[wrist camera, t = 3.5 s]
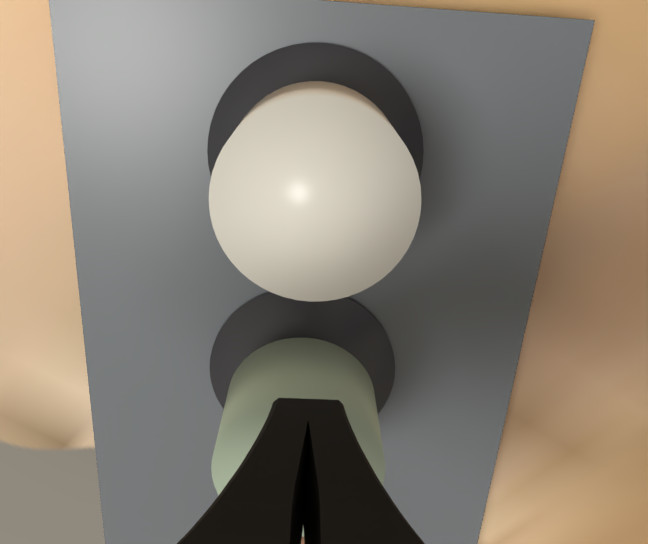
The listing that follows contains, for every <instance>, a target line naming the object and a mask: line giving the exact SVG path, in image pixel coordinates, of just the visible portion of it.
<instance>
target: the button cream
mask: <svg viewBox="0 0 648 544" xmlns="http://www.w3.org/2000/svg"><path fill="white" fill-rule="evenodd" d="M209 211H210V217H211V222H212V226H213V229H214V232H215V235H216V237H217V240H218V242H219V244H220V245H221V247H222V249H223V251H224V252H225V254H226V255H227V257H228V258H229V260H230V261H231V262H232V263H233V264H234V266H235V267H236V268H237V269H238V270H239V271H240V272H241V273H242V274H243V275H245V276H246V277H247V278H248V279H249V280H251V281H252V282H254V283H255V284H257V285H258V286H260V287H261V288H263V289H265V290H267V291H269V292H271V293H274V294H277V295H279V296H282V297H286V298H290V299H294V300H300V301H309V302H317V301H330V300H337V299H341V298H345V297H349V296H351V295H354V294H357V293H359V292H361V291H363V290H365V289H367V288H369V287H371V286H372V285H374V284H375V283H377V282H378V281H380V280H381V279H383V278H384V277H385V276H386V275H387V274H388V273H389V272H390V271H392V270H393V268H394V267H395V266H396V265H397V264H398V263H399V262H400V260H401V259H402V257H403V256H404V254H405V253H406V252H407V250H408V248H409V246H410V244H411V242H412V240H413V238H414V235H415V233H416V230H417V227H418V223H419V218H420V213H421V185H420V181H419V176H418V171H417V169H416V166H415V163H414V160H413V158H412V156H411V154H410V152H409V150H408V148H407V147H406V145H405V144H404V142H403V141H402V139H401V138H400V136H399V135H398V134H397V132H396V131H395V129H394V128H393V126H392V125H391V124H390V122H389V121H388V119H387V118H386V116H385V115H384V114H383V112H382V111H381V110H380V109H379V108H378V107H377V106H376V105H375V104H374V103H373V102H371V101H370V100H369V99H368V98H366V97H365V96H363V95H362V94H360V93H358V92H357V91H355V90H353V89H350V88H348V87H346V86H343V85H339V84H336V83H331V82H324V81H307V82H299V83H295V84H291V85H288V86H285V87H282V88H280V89H278V90H275V91H274V92H272V93H270V94H269V95H267V96H265V97H264V98H263V99H262V100H260V101H259V102H258V103H257V104H255V105H254V107H253V108H252V109H251V110H250V111H249V112H248V113H247V114H246V116H245V117H244V118H243V120H242V121H241V123H240V124H239V125H238V127H237V128H236V129H235V131H234V132H233V134H232V135H231V136H230V138H229V139H228V141H227V142H226V143H225V145H224V146H223V148H222V150H221V152H220V154H219V156H218V158H217V160H216V163H215V166H214V168H213V171H212V175H211V180H210V185H209Z"/></svg>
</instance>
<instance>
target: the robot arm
mask: <svg viewBox="0 0 648 544" xmlns="http://www.w3.org/2000/svg"><path fill="white" fill-rule="evenodd" d="M303 527H304V543H305V544H425V543H424V542H423V541H422V540H421V538H420V537H419V536H418V535H417V533H416V532H415V531H414V530H413V528H412V527H411V526H410V524H409V523H408V522H407V520H406V519H405V518H404V516H403V515H402V514H401V512H400V511H399V509H398V508H397V507H396V505H395V504H394V502H393V501H392V499H391V498H390V496H389V495H388V493H387V492H386V490H385V489H384V487H383V485H382V484H381V482H380V481H379V479H378V477H377V476H376V474H375V472H374V470H373V469H372V467H371V465H370V463H369V461H368V460H367V458H366V456H365V454H364V452H363V451H362V449H361V447H360V445H359V443H358V441H357V438H356V436H355V434H354V432H353V430H352V427H351V425H350V423H349V420H348V418H347V415H346V412H345V409H344V405H343V404H342V403H341V402H340V401H339V400H329V399H301V398H278V399H277V400H275V401H274V402H273V404H272V407H271V410H270V412H269V415H268V417H267V419H266V421H265V423H264V426H263V427H262V429H261V431H260V433H259V435H258V437H257V439H256V440H255V442H254V444H253V445H252V447H251V449H250V450H249V452H248V454H247V455H246V457H245V459H244V460H243V462H242V463H241V465H240V466H239V468H238V469H237V471H236V472H235V474H234V475H233V476H232V478H231V479H230V481H229V482H228V483H227V485H226V486H225V488H224V489H223V490H222V492H221V493H220V494H219V496H218V497H217V498H216V500H215V501H214V502H213V503H212V505H211V506H210V507H209V508H208V510H207V511H206V512H205V513H204V514H203V516H202V517H201V518H200V519H199V520H198V521H197V522H196V524H195V525H194V526H193V527H192V528H191V529H190V530H189V532H188V533H187V534H186V535H185V536H184V537H183V538H182V539H181V540H180V541H179V542H178V543H177V544H301V540H302V532H303Z"/></svg>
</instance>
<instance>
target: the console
mask: <svg viewBox="0 0 648 544" xmlns="http://www.w3.org/2000/svg"><path fill="white" fill-rule="evenodd" d="M49 6H50V16H51V26H52V35H53V45H54V55H55V64H56V74H57V84H58V93H59V103H60V112H61V122H62V132H63V141H64V151H65V161H66V170H67V180H68V190H69V199H70V209H71V218H72V228H73V238H74V247H75V257H76V267H77V276H78V286H79V296H80V305H81V315H82V325H83V334H84V344H85V353H86V363H87V373H88V382H89V392H90V402H91V411H92V421H93V431H94V440H95V450H96V459H97V468H98V478H99V488H100V498H101V508H102V517H103V526H104V536H105V544H177V543H178V542H179V541H180V540H181V539H182V538H183V537H184V536H185V535H186V534H187V533H188V532H189V530H190V529H191V528H192V527H193V526H194V525H195V524H196V522H197V521H198V520H199V519H200V518H201V517H202V516H203V514H204V513H205V512H206V511H207V510H208V508H209V507H210V506H211V505H212V503H213V502H214V501H215V500H216V498H217V497H218V496H219V495H218V493H217V491H216V489H215V486H214V483H213V479H212V472H211V464H212V456H213V452H214V448H215V444H216V440H217V435H218V431H219V427H220V423H221V419H222V414H223V410H224V406H225V402H226V398H227V393H228V389H229V385H230V382H231V379H232V377H233V374H234V373H235V371H236V369H237V368H238V366H239V365H240V364H241V363H242V362H243V360H245V359H246V358H247V357H248V356H249V355H250V354H251V353H253V352H254V351H256V350H257V349H259V348H261V347H263V346H265V345H267V344H269V343H272V342H275V341H278V340H282V339H288V338H314V339H319V340H323V341H327V342H330V343H332V344H335V345H337V346H339V347H341V348H343V349H344V350H346V351H347V352H349V353H350V354H352V355H353V356H354V357H355V358H356V359H357V360H358V361H359V362H360V363H361V364H362V365H363V366H364V368H365V370H366V371H367V373H368V374H369V377H370V379H371V381H372V384H373V388H374V393H375V400H376V406H377V413H378V419H379V426H380V432H381V439H382V445H383V452H384V458H385V478H384V483H383V487H384V489H385V490H386V492H387V493H388V495H389V496H390V498H391V499H392V501H393V502H394V504H395V505H396V507H397V508H398V509H399V511H400V512H401V514H402V515H403V516H404V518H405V519H406V520H407V522H408V523H409V524H410V526H411V527H412V528H413V530H414V531H415V532H416V533H417V535H418V536H419V537H420V538H421V540H422V541H423V542H424V543H425V544H477V542H478V538H479V533H480V529H481V525H482V520H483V516H484V511H485V507H486V502H487V498H488V493H489V489H490V484H491V480H492V476H493V471H494V467H495V462H496V458H497V453H498V449H499V444H500V440H501V435H502V431H503V427H504V422H505V418H506V413H507V409H508V404H509V400H510V395H511V391H512V386H513V382H514V378H515V373H516V369H517V364H518V360H519V355H520V351H521V346H522V342H523V337H524V333H525V329H526V324H527V320H528V315H529V311H530V306H531V302H532V297H533V293H534V288H535V284H536V280H537V275H538V271H539V266H540V262H541V257H542V253H543V248H544V244H545V239H546V235H547V231H548V226H549V222H550V217H551V213H552V208H553V204H554V199H555V195H556V190H557V186H558V182H559V177H560V173H561V168H562V164H563V159H564V155H565V150H566V146H567V141H568V137H569V133H570V128H571V124H572V119H573V115H574V110H575V106H576V101H577V97H578V92H579V88H580V84H581V79H582V75H583V70H584V66H585V61H586V57H587V52H588V48H589V43H590V39H591V34H592V30H593V26H594V21H595V20H583V19H570V18H556V17H542V16H529V15H515V14H501V13H488V12H474V11H460V10H447V9H433V8H419V7H405V6H392V5H378V4H364V3H351V2H337V1H323V0H49ZM307 81H324V82H331V83H336V84H339V85H343V86H346V87H348V88H350V89H353V90H355V91H357V92H358V93H360V94H362V95H363V96H365V97H366V98H368V99H369V100H370V101H371V102H373V103H374V104H375V105H376V106H377V107H378V108H379V109H380V110H381V111H382V112H383V114H384V115H385V116H386V118H387V119H388V121H389V122H390V124H391V125H392V126H393V128H394V129H395V131H396V132H397V134H398V135H399V136H400V138H401V139H402V141H403V142H404V144H405V145H406V147H407V148H408V150H409V152H410V154H411V156H412V158H413V160H414V163H415V166H416V169H417V171H418V176H419V181H420V185H421V213H420V218H419V223H418V227H417V230H416V233H415V235H414V238H413V240H412V242H411V244H410V246H409V248H408V250H407V252H406V253H405V254H404V256H403V257H402V259H401V260H400V262H399V263H398V264H397V265H396V266H395V267H394V268H393V270H392V271H390V272H389V273H388V274H387V275H386V276H385V277H384V278H383V279H381V280H380V281H378V282H377V283H375V284H374V285H372V286H371V287H369V288H367V289H365V290H363V291H361V292H359V293H357V294H354V295H351V296H349V297H345V298H341V299H337V300H330V301H317V302H309V301H300V300H294V299H290V298H286V297H282V296H279V295H277V294H274V293H271V292H269V291H267V290H265V289H263V288H261V287H260V286H258V285H257V284H255V283H254V282H252V281H251V280H249V279H248V278H247V277H246V276H245V275H243V274H242V273H241V272H240V271H239V270H238V269H237V268H236V267H235V266H234V264H233V263H232V262H231V261H230V260H229V258H228V257H227V255H226V254H225V252H224V251H223V249H222V247H221V245H220V244H219V242H218V240H217V237H216V235H215V232H214V229H213V226H212V222H211V217H210V211H209V185H210V180H211V175H212V171H213V168H214V166H215V163H216V160H217V158H218V156H219V154H220V152H221V150H222V148H223V146H224V145H225V143H226V142H227V141H228V139H229V138H230V136H231V135H232V134H233V132H234V131H235V129H236V128H237V127H238V125H239V124H240V123H241V121H242V120H243V118H244V117H245V116H246V114H247V113H248V112H249V111H250V110H251V109H252V108H253V107H254V105H255V104H257V103H258V102H259V101H260V100H262V99H263V98H264V97H265V96H267V95H269V94H270V93H272V92H274V91H275V90H278V89H280V88H282V87H285V86H288V85H291V84H295V83H299V82H307Z"/></svg>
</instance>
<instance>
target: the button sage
mask: <svg viewBox="0 0 648 544" xmlns="http://www.w3.org/2000/svg"><path fill="white" fill-rule="evenodd" d="M278 398H301V399H329V400H339V401H340V402H341V403H342V404H343V405H344V409H345V412H346V415H347V418H348V420H349V423H350V425H351V427H352V430H353V432H354V434H355V436H356V438H357V441H358V443H359V445H360V447H361V449H362V451H363V452H364V454H365V456H366V458H367V460H368V461H369V463H370V465H371V467H372V469H373V470H374V472H375V474H376V476H377V477H378V479H379V481H380V482H381V484H382V485H383V483H384V478H385V458H384V452H383V445H382V439H381V432H380V426H379V419H378V413H377V406H376V400H375V393H374V388H373V384H372V381H371V379H370V377H369V374H368V373H367V371H366V370H365V368H364V366H363V365H362V364H361V363H360V362H359V361H358V360H357V359H356V358H355V357H354V356H353V355H352V354H350V353H349V352H347V351H346V350H344V349H343V348H341V347H339V346H337V345H335V344H332V343H330V342H327V341H323V340H319V339H314V338H288V339H282V340H278V341H275V342H272V343H269V344H267V345H265V346H263V347H261V348H259V349H257V350H256V351H254V352H253V353H251V354H250V355H249V356H248V357H247V358H246V359H245V360H243V362H242V363H241V364H240V365H239V366H238V368H237V369H236V371H235V373H234V374H233V377H232V379H231V382H230V385H229V389H228V393H227V398H226V402H225V406H224V410H223V414H222V419H221V423H220V427H219V431H218V435H217V440H216V444H215V448H214V452H213V456H212V464H211V472H212V479H213V483H214V486H215V489H216V491H217V493H218V495H219V494H220V493H221V492H222V490H223V489H224V488H225V486H226V485H227V483H228V482H229V481H230V479H231V478H232V476H233V475H234V474H235V472H236V471H237V469H238V468H239V466H240V465H241V463H242V462H243V460H244V459H245V457H246V455H247V454H248V452H249V450H250V449H251V447H252V445H253V444H254V442H255V440H256V439H257V437H258V435H259V433H260V431H261V429H262V427H263V426H264V423H265V421H266V419H267V417H268V415H269V412H270V410H271V407H272V404H273V402H274V401H275V400H277V399H278ZM302 537H304V527H303V532H302Z"/></svg>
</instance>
